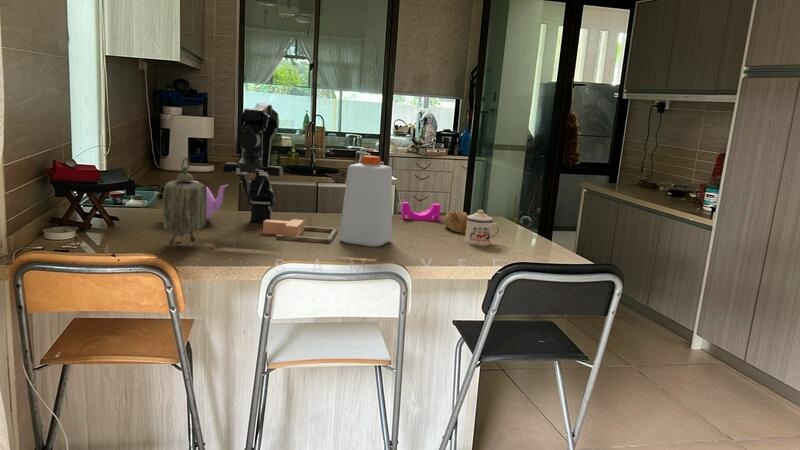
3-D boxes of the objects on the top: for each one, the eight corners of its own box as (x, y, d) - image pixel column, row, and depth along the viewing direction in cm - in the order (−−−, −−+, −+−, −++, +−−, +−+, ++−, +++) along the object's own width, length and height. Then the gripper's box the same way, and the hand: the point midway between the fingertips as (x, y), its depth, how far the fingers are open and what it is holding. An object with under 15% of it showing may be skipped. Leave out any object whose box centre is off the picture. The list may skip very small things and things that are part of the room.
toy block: (436, 220, 248) (437, 202, 246) (438, 223, 242) (440, 205, 240) (400, 218, 246) (401, 200, 244) (402, 221, 240) (403, 203, 238)
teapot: (232, 217, 220) (233, 180, 217) (223, 226, 205) (224, 186, 202) (170, 214, 218) (170, 176, 215) (157, 222, 202) (157, 182, 200)
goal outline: (275, 239, 191) (276, 235, 190) (288, 228, 209) (288, 224, 209) (329, 243, 190) (329, 239, 190) (337, 232, 208) (337, 228, 208)
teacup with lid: (467, 245, 203) (470, 211, 200) (461, 239, 212) (464, 207, 209) (501, 247, 204) (505, 213, 202) (494, 241, 213) (498, 209, 211)
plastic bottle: (377, 248, 188) (384, 159, 183) (334, 242, 193) (339, 155, 188) (395, 240, 202) (401, 157, 197) (354, 234, 207) (359, 153, 202)
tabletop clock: (176, 235, 185) (177, 154, 180) (207, 237, 186) (208, 156, 181) (163, 246, 171) (163, 158, 166) (195, 248, 172) (196, 160, 167)
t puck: (259, 235, 194) (260, 223, 193) (268, 228, 206) (269, 217, 205) (296, 238, 194) (297, 226, 193) (303, 231, 206) (304, 220, 205)
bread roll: (450, 235, 219) (452, 213, 218) (438, 227, 233) (440, 207, 232) (475, 235, 221) (477, 214, 220) (462, 227, 236) (463, 207, 234)
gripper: (216, 147, 187) (216, 196, 190) (276, 151, 187) (274, 201, 190) (228, 145, 198) (227, 192, 201) (284, 149, 198) (282, 196, 201)
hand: (252, 195), depth 198 cm, fingers open, 3 cm apart
